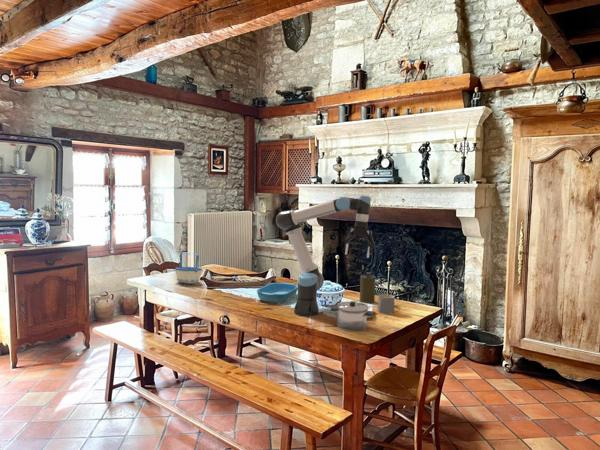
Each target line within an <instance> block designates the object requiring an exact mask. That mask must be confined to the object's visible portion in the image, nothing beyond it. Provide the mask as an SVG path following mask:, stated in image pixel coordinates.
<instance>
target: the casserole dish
mask: <svg viewBox="0 0 600 450" xmlns="http://www.w3.org/2000/svg"><path fill="white" fill-rule="evenodd" d="M256 293H257V296H258V298H259V300H261V301H262V302H270V303H276V302H277V304H279V302H280V303H284V302H286V301H288V300H289V299H291V298H292V297H294V296H295V295H297V293H298V284H294V283H289V282H271V283H268V284H266V285H264V286H262V287H260V288H257V289H256Z"/></svg>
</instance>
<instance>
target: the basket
mask: <svg viewBox="0 0 600 450" xmlns="http://www.w3.org/2000/svg"><path fill="white" fill-rule="evenodd" d="M183 254H185V255H190V253H189V252H185V251H184V252H183V251H182V252H180V253H179V267H178V266H176V267H175V268H174V269H175V275H176V281H177V282H178V283H182V284H183V283H184V284H187V285H188V284H193V285H194V284H198V283H199V280H200V277H201V274H202V270H203V268H202V267H198V265H199V257H200V256H199V254H197V253H194V255H195V256H196V257H195V258H196V260H195V267H194V266H183Z"/></svg>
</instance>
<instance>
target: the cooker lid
mask: <svg viewBox="0 0 600 450" xmlns="http://www.w3.org/2000/svg"><path fill="white" fill-rule="evenodd" d="M336 306H337V308H338V309H339V310H341V311H345V312H355V313H357V312H365V311H367V310H368V306H369V305H368V304H367V303H362V302H360V301H359V302H358V301H353V300H352V301H341V302H337V304H336Z"/></svg>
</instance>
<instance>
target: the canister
mask: <svg viewBox="0 0 600 450" xmlns="http://www.w3.org/2000/svg"><path fill="white" fill-rule="evenodd" d="M376 278H377V277H376V276H375V275H372V274H371V271H370V272H368V271H366V272H365V274H362V275H360V286H359V288H360V289H359V303H363V304H373V303H375V302H376V301H375V299H376V298H375V296H376V295H375V294H376V292H375V291H376Z"/></svg>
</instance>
